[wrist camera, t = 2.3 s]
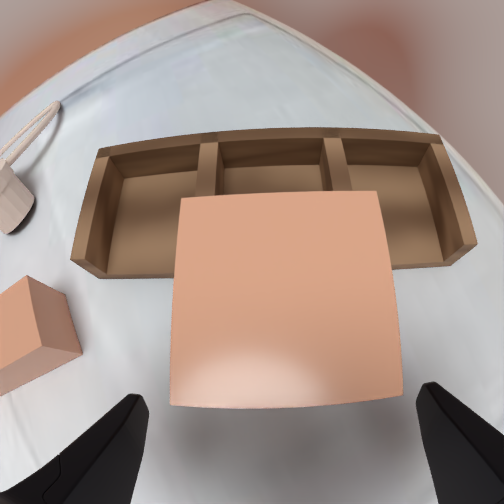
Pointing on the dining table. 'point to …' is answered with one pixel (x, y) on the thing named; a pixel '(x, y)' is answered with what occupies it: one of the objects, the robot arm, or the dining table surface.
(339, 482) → the dining table surface
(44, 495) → the robot arm
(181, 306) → the clay bar
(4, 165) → the toilet paper hanger
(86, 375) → the dining table surface
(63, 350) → the clay bar
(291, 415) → the dining table surface
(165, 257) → the tray
